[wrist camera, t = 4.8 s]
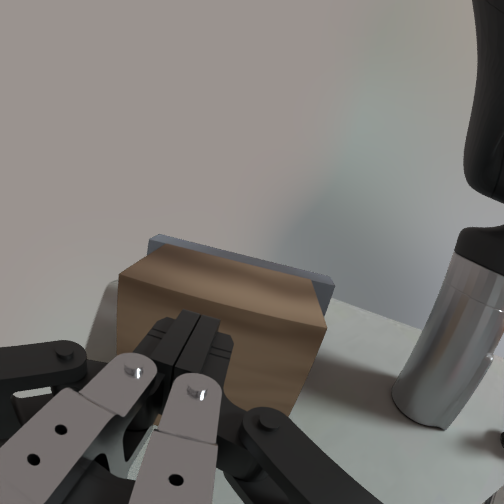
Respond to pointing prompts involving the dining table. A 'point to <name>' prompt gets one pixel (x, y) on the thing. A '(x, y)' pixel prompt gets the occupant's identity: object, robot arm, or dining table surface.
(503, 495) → the ink box
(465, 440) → the dining table surface
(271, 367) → the walnut block
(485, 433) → the dining table surface
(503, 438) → the dark grey figurine
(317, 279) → the slate board
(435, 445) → the dining table surface
